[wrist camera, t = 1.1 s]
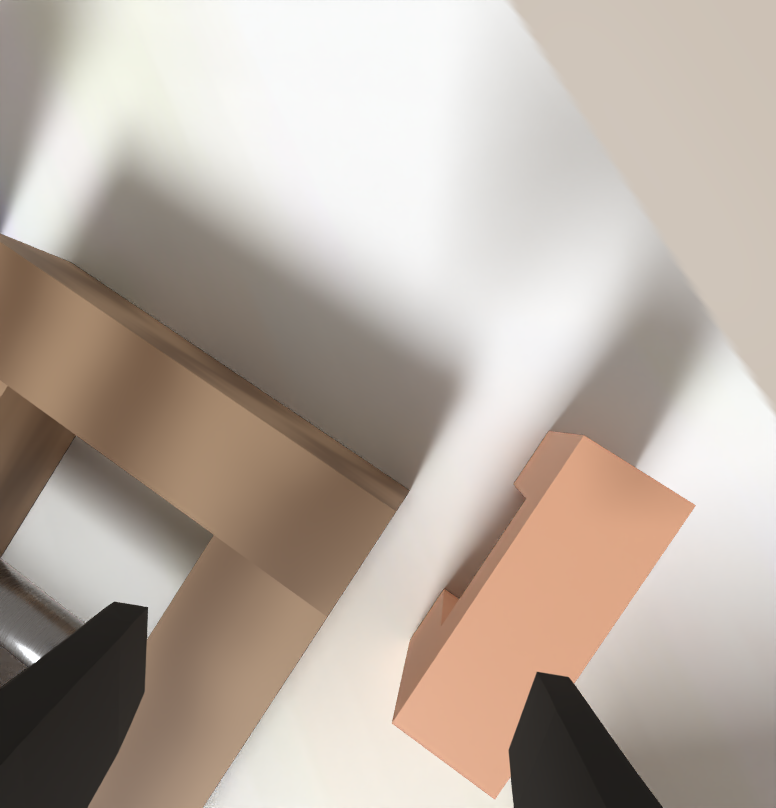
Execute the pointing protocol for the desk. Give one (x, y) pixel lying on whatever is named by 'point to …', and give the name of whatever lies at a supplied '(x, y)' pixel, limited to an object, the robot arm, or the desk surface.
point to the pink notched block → (534, 602)
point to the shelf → (194, 496)
